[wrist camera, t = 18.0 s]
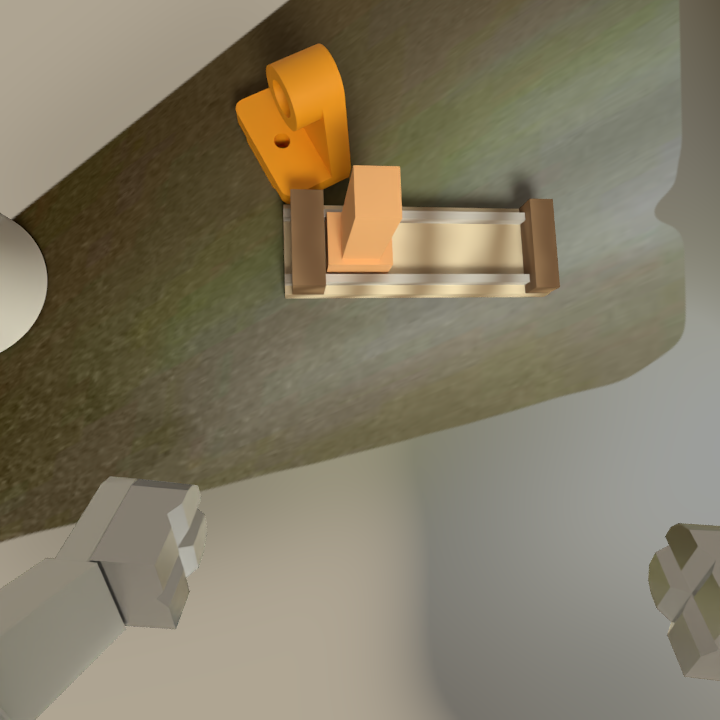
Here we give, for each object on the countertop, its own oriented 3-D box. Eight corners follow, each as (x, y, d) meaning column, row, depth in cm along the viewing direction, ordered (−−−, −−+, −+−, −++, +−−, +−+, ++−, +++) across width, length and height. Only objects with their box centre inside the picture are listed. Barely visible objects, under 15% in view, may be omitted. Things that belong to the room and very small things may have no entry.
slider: (326, 273, 51) (338, 223, 38) (324, 224, 51) (336, 158, 39) (387, 273, 52) (419, 224, 39) (385, 224, 52) (415, 160, 39)
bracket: (234, 119, 53) (218, 33, 41) (297, 92, 54) (299, 0, 43) (286, 210, 53) (284, 149, 41) (348, 180, 54) (364, 113, 42)
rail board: (285, 298, 52) (284, 285, 47) (283, 210, 53) (282, 188, 48) (543, 296, 55) (568, 284, 50) (536, 214, 56) (560, 194, 51)
